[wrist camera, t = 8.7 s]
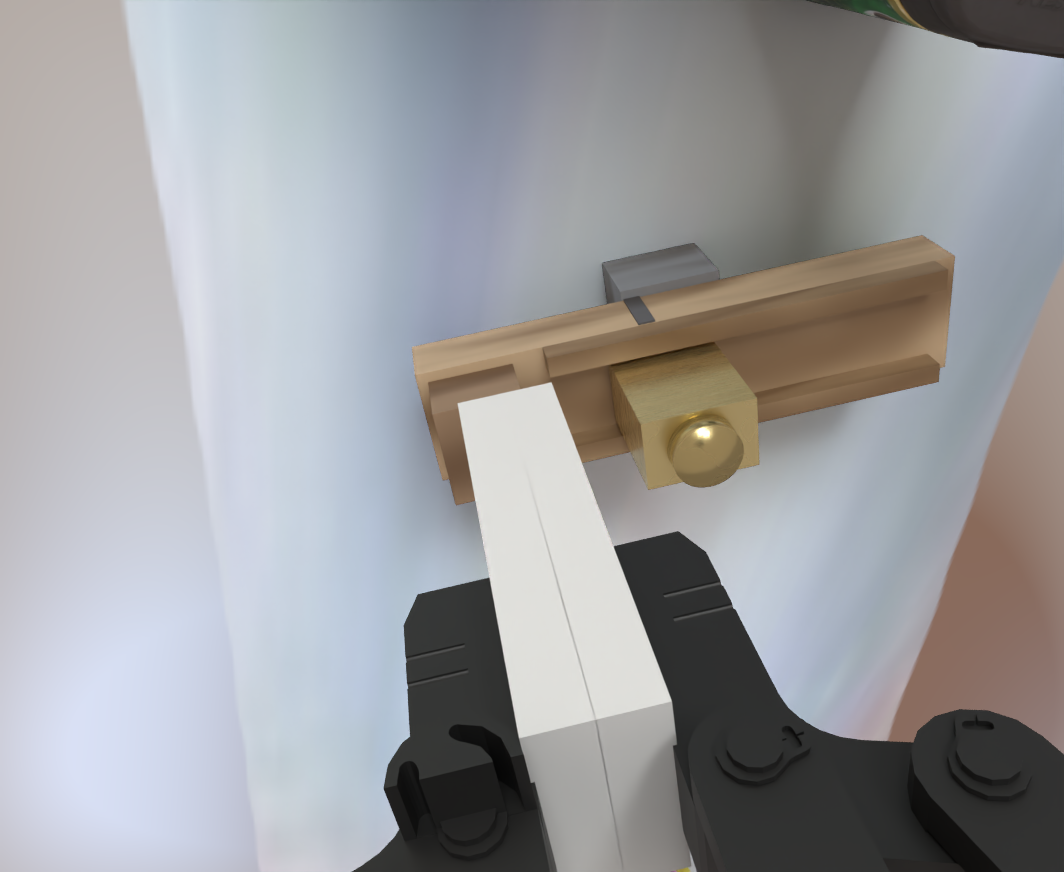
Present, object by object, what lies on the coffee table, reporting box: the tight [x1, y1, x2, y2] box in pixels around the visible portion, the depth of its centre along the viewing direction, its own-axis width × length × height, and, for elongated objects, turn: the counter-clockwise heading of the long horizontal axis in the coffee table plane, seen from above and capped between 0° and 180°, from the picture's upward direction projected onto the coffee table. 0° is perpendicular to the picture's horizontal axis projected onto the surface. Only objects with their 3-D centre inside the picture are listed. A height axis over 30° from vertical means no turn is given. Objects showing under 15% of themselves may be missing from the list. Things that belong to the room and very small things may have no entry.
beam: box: [412, 235, 955, 505], centre depth 46 cm, size 7×26×10 cm, turn 100°
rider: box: [608, 341, 759, 490], centre depth 41 cm, size 3×5×7 cm
